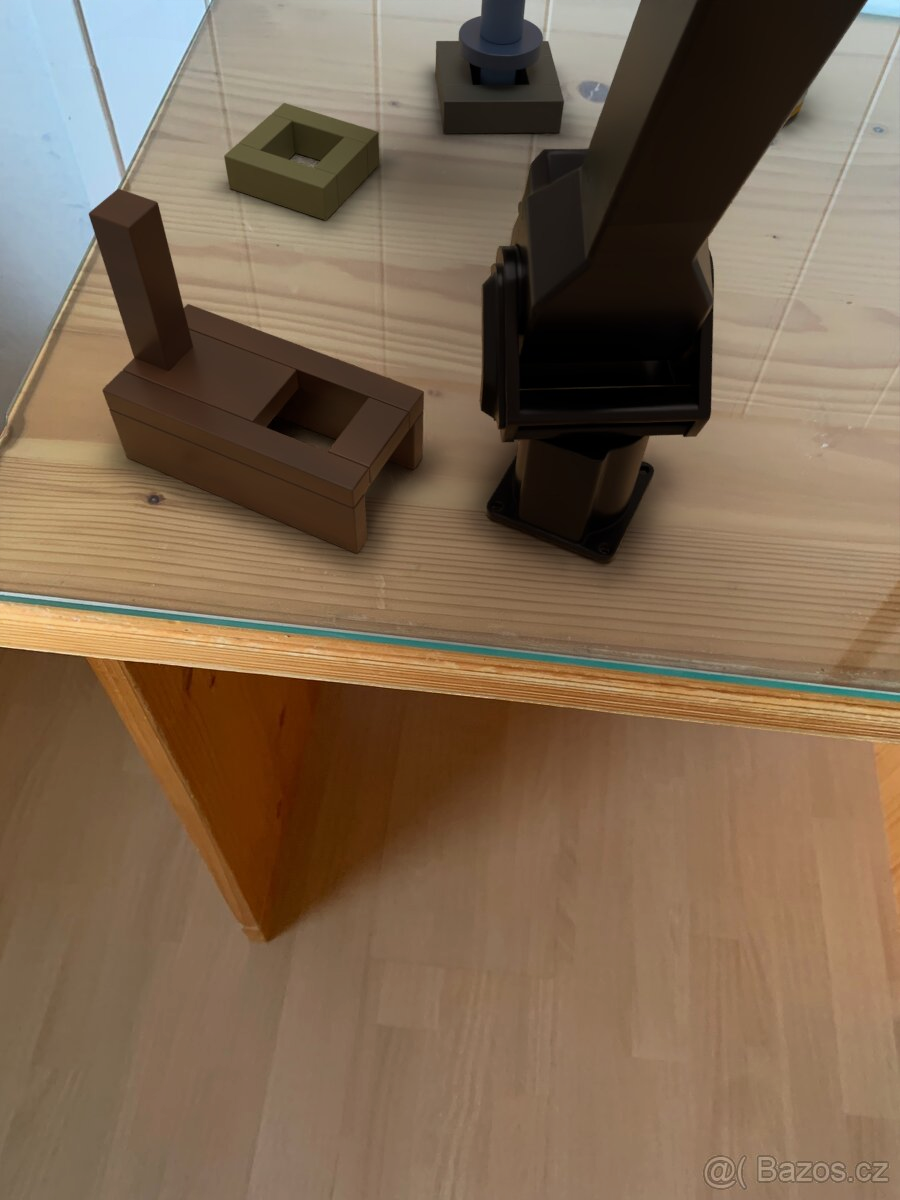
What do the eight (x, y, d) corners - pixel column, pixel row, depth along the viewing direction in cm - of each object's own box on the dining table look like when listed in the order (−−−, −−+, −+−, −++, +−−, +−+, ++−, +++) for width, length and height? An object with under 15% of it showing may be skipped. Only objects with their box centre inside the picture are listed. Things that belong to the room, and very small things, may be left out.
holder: (560, 133, 64) (564, 100, 62) (443, 133, 63) (444, 101, 61) (544, 72, 68) (548, 40, 66) (435, 72, 68) (436, 40, 66)
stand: (357, 554, 43) (341, 353, 33) (125, 457, 46) (47, 245, 36) (423, 457, 47) (426, 249, 37) (204, 372, 50) (152, 158, 40)
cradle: (326, 221, 57) (323, 188, 56) (229, 188, 59) (223, 155, 57) (380, 164, 61) (379, 131, 59) (287, 134, 62) (283, 102, 61)
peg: (516, 131, 64) (532, -33, 55) (442, 110, 65) (447, -54, 57) (547, 94, 67) (567, -68, 58) (476, 73, 68) (485, -88, 59)
